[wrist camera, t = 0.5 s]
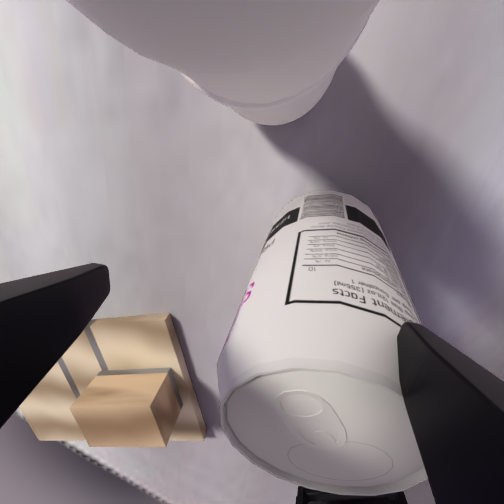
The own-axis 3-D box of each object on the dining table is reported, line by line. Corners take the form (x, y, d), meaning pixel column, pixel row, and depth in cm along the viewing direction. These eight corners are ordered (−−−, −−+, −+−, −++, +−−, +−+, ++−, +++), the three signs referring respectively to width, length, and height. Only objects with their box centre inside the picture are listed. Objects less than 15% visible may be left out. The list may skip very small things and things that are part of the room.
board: (207, 430, 32) (204, 440, 31) (46, 431, 36) (39, 440, 35) (169, 313, 27) (164, 320, 26) (-14, 328, 31) (-25, 335, 30)
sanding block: (183, 404, 30) (165, 447, 25) (116, 406, 31) (89, 446, 27) (170, 367, 28) (149, 406, 24) (100, 370, 29) (69, 408, 25)
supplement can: (394, 264, 22) (494, 509, 9) (296, 292, 25) (266, 499, 12) (358, 167, 19) (428, 323, 6) (253, 214, 22) (157, 376, 9)
